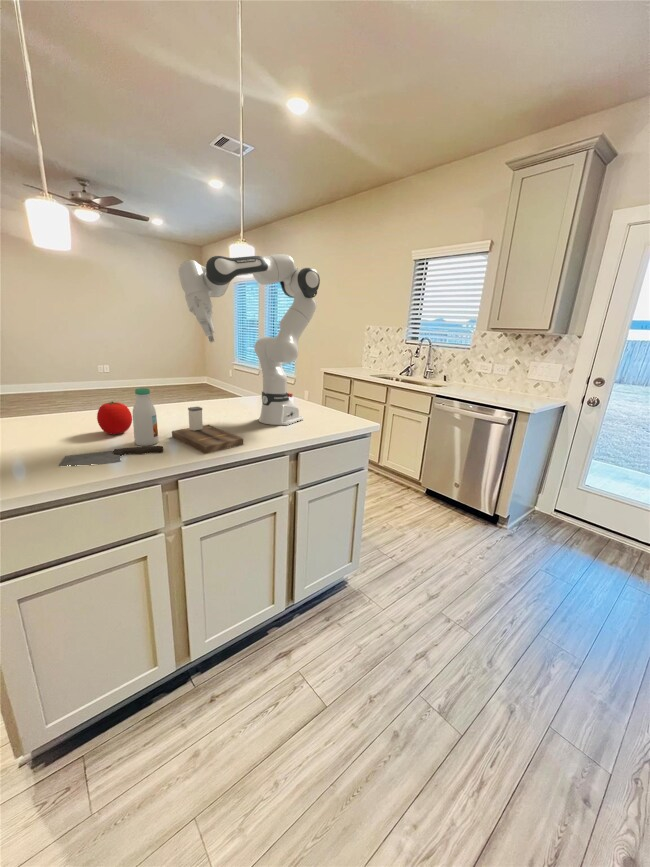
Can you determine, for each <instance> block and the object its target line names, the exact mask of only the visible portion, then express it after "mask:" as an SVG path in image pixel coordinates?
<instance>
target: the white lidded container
mask: <svg viewBox="0 0 650 867" xmlns="http://www.w3.org/2000/svg"><path fill="white" fill-rule="evenodd" d="M187 411H188V428H189V429H191V430H193V431H194V430H200V429H203V424H204V422H203V407H200V406H191V407H187Z"/></svg>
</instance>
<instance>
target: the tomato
mask: <svg viewBox="0 0 650 867" xmlns="http://www.w3.org/2000/svg"><path fill="white" fill-rule="evenodd" d="M96 420H97V423H98V426H99V428H100V429H101V430H102V431H103V432H104V433H106V434H109V435H118V434H123V433H125V432H127V431H128V430H130V428H131V425H132V424H133V414H132V412H131V410H130V408H129V407H128V406H127V405H125V404H123V403H121V402H119V401H117V402H114V401H111V402H110V401H109V402H106V403H103V404H101V406H100V407H99V408H98V410H97V413H96Z"/></svg>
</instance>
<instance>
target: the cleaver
mask: <svg viewBox="0 0 650 867" xmlns="http://www.w3.org/2000/svg"><path fill="white" fill-rule="evenodd" d="M164 451H165V450H164V446H163V445H148V446H131V447H130V446H129V447H120V448H114V449H113V450H105V451H96V452H86V453H79V454H72V455H71V454H70V455H65V456H64V457H63V458H62V459H61V461H60V463H59V464H58V466H67V465H68V466H69V465H71V467H78V466H77V465H89V466H92V465H91V464H98V465H104V464H111V463H118V462H121V461H120V458H121V457H123V456H125V455H124V454H126V455H145V453H146V454H162V453H163V452H164ZM122 455H123V456H122ZM120 456H121V457H120ZM75 465H76V466H75Z"/></svg>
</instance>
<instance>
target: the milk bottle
mask: <svg viewBox="0 0 650 867" xmlns="http://www.w3.org/2000/svg"><path fill="white" fill-rule="evenodd" d="M134 392H135V396H136V399H135V403H134V405H133V408H132V426H133V434H134V436H133V437H134V444H135V445H137V446H139V447H143V446H155V445H157V444H158V442H159V431H158V419H157V411H156V408H155V406H154V404H153V402H152V400H151V398H150V396H151V390H150V389H149V388H146V387H145V388H144V387H141V388H140V387H139V388H135V390H134Z"/></svg>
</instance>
